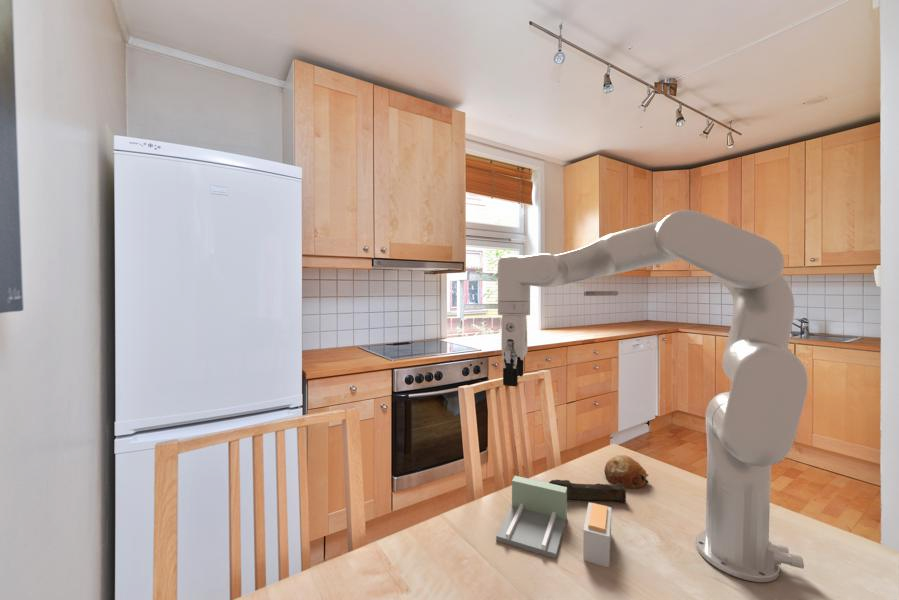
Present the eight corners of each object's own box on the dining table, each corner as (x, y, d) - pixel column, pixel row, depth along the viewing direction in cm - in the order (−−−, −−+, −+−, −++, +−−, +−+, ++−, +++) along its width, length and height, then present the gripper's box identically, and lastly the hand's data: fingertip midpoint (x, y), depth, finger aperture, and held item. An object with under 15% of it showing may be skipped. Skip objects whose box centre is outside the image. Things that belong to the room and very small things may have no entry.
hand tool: (621, 496, 92) (621, 478, 92) (627, 505, 88) (627, 486, 88) (543, 493, 94) (543, 475, 94) (546, 502, 90) (546, 483, 90)
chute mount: (566, 517, 84) (567, 487, 83) (556, 558, 71) (556, 523, 71) (514, 504, 89) (514, 475, 89) (496, 540, 76) (496, 507, 76)
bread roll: (622, 481, 106) (611, 452, 108) (657, 479, 99) (644, 448, 101) (605, 494, 100) (593, 463, 102) (641, 492, 92) (627, 459, 95)
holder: (611, 535, 78) (611, 504, 78) (608, 568, 69) (609, 533, 69) (588, 529, 80) (588, 499, 80) (583, 560, 71) (583, 526, 71)
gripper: (525, 311, 78) (525, 391, 79) (533, 306, 95) (533, 373, 95) (490, 310, 81) (490, 388, 81) (504, 306, 97) (504, 371, 98)
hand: (513, 380), depth 88 cm, fingers open, 9 cm apart
